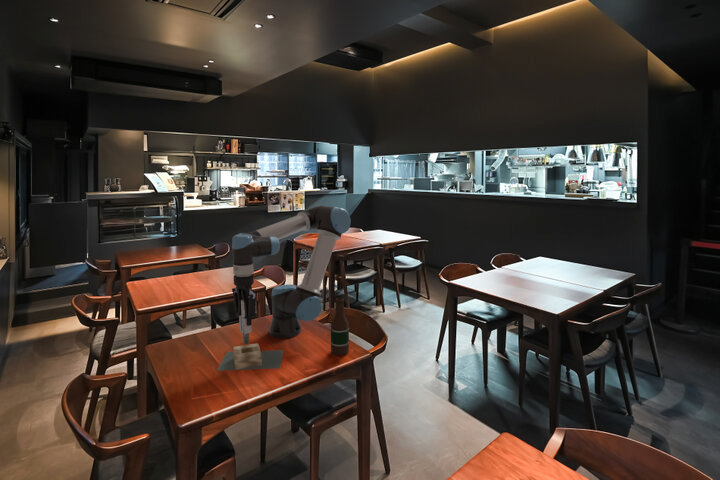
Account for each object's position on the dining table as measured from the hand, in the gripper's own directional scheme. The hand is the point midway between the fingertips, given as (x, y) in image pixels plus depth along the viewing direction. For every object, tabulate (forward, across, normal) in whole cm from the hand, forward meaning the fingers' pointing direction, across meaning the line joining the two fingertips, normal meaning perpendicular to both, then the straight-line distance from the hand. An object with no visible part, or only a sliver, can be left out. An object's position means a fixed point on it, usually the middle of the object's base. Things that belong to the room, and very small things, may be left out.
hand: (245, 331), depth 157 cm
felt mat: (+13, 0, +3) cm, 14 cm away
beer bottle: (+13, +22, +31) cm, 41 cm away
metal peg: (+5, 0, 0) cm, 5 cm away
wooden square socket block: (+13, 0, 0) cm, 13 cm away
